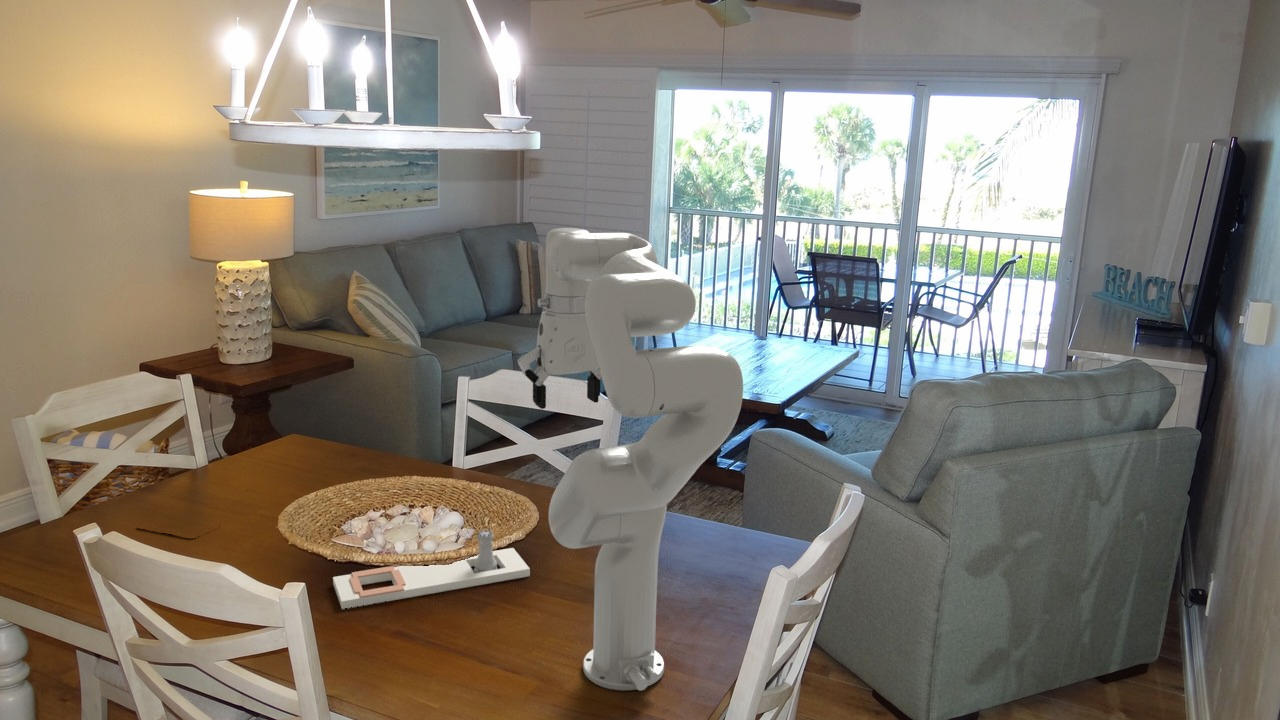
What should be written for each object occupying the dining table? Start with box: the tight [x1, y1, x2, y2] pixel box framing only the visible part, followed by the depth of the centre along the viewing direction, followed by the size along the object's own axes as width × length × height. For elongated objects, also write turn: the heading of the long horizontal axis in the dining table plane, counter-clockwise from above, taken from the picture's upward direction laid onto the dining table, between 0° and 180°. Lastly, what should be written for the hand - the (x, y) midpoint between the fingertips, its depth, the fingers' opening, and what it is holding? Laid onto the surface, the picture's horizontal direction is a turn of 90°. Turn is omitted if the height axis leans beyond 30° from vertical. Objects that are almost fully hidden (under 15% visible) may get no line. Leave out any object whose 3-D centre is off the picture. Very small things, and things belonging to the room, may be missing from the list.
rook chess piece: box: [473, 528, 499, 573], centre depth 182 cm, size 4×4×8 cm
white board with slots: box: [332, 547, 531, 610], centre depth 179 cm, size 10×34×2 cm, turn 115°
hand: (566, 403), depth 165 cm, fingers open, 9 cm apart
